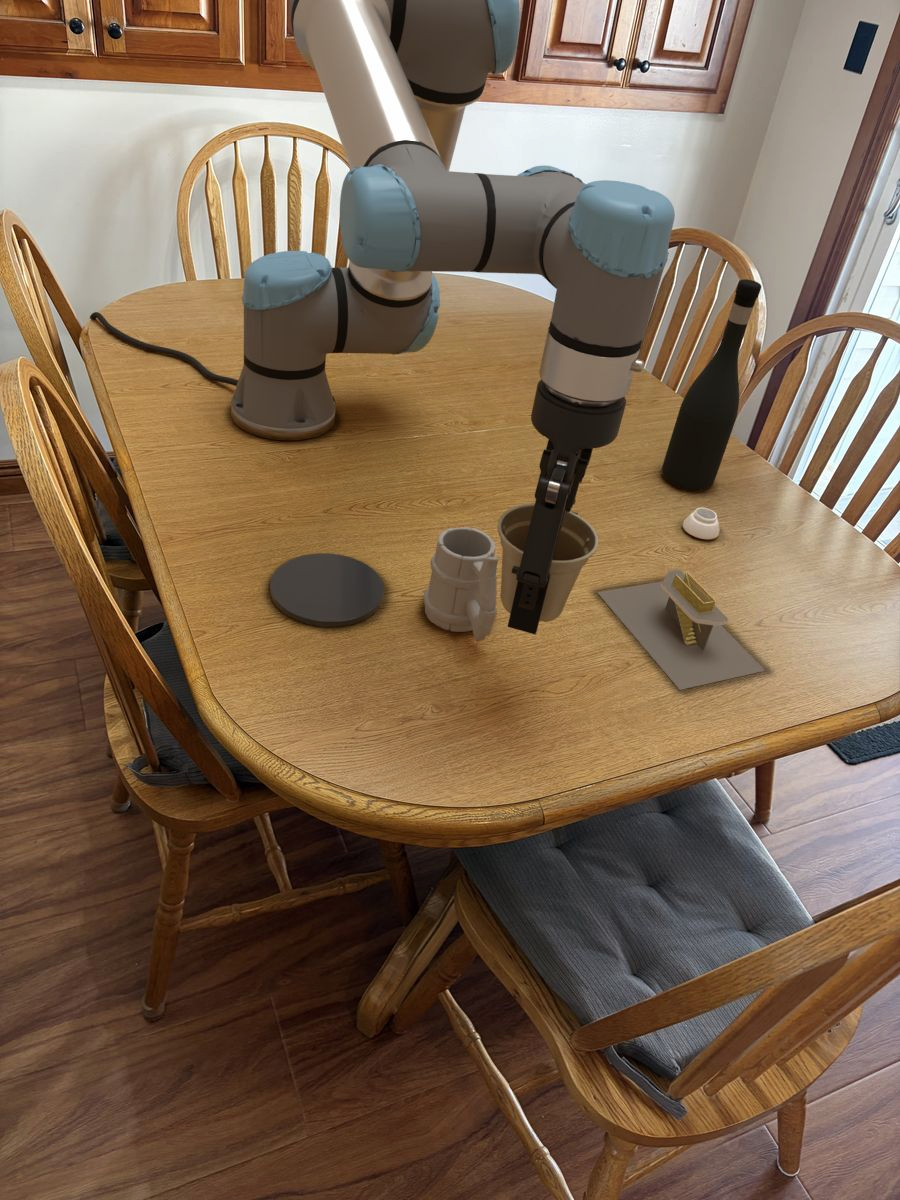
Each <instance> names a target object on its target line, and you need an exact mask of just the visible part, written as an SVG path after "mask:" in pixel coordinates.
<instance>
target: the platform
mask: <svg viewBox="0 0 900 1200" xmlns="http://www.w3.org/2000/svg"><path fill="white" fill-rule="evenodd" d="M596 593H597V594H598V595H599V597H600V598H601V599H602V600H603V601H604V603H605V604H606V605H607V606H608V607H609V609H611V611H612V612H613V613H614V614H615V616H616V617H617V618H618V619H619V620H620V622H621V623H622V624H623V625H624V626H625V628H627V630H628V631H629V632H630V633H631V634H632V636H633V637H634V638H635V639H636V641H638V643H639V644H640V645H641V646H642V647H643V649H644V650H645V651H646V652H647V654H649V656H650V657H651V658H652V659H653V660H654V661H655V662H656V664H657V665H658V666H659V668H660V669H661V670H662V671H663V672H664V673H665V674H666V676H667V677H668V678H669V679H670V680H671V682H672V683H673V684H674V685H675V686H676V687H677V689H678V690H679V691H681V690H686V689H691V688H696V687H699V686H704V685H709V684H712V683H716V682H721V681H725V680H730V679H735V678H739V677H744V676H748V675H752V674H753V675H754V674H758V673H762V672H765V671H766V670H765V669H764V668H763V667H762V666H761V664H760V663H759V662H757V660H755V658H754V657H753V656H752V655H751V654H750V653H749V651H747V650H746V649H745V648H744V647H743V646H742V644H741V643H739V641H737V640H736V638H734V637H733V635H731V634H730V632H729V631H728V630H727V629H726V628H725V627H724V626H725V625H726V624H727V623H728V621H729V620H728V617H727V616H726V615H725V614H724V613H723V612H722V611H721V609H720V608H718V606H717V605H715V604H716V602H717V600H716V599H715V598H714V597H713V596H712V595H711V594H710V593H709V592H708V591H707V590H706V589H705V588H704V587H703V585H701V584H700V583H699V582H698V581H697V580H696V579H695V578H694V576H692V575H691V574H690V573H689V572H688V571H685V573H684V572H683V571H682V570H680V569H674V570H673V569H672V570H669V571H668V572H667V574H666V575H665V577H664V579H662V581H656V582H650V583H644V584H643V583H642V584H638V585H632V586H625V587H620V588H614V589H609V590H602V591H596Z"/></svg>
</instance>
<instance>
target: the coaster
mask: <svg viewBox="0 0 900 1200" xmlns="http://www.w3.org/2000/svg"><path fill="white" fill-rule="evenodd" d="M269 593H270V594H269V595H270V598H271V600H272V603H273V604H274V605H275V607H276V608H277V609H278V610H279V611H280V612H282V613H283V614H284V615H286V616H287V617H289V618H290V619H292V620H295V621H297V622H299V623H303V624H305V625H309V626H310V625H311V626H313V627H321V628H322V627H323V628H339V627H347V626H351V625H355V624H358V623H360V622H363V621H365V620H367V619H369V618H370V617H372V616H373V615H375V613H376V612H378V610H379V609H380V608H381V606H382V603H383V601H384V598H385V597H384V596H385V585H384V582H383V580H382V578H381V576H380V575H379V574H378V573H377V571H376V570H375V569H373V568H372V567H371V566H369V565H368V564H367V563H365V562H362V561H361V560H359V559H356V558H354V557H351V556H347V555H343V554H337V553H324V552H323V553H322V552H320V553H319V552H318V553H309V554H304V555H300V556H297V557H294V558H292V559H289V560H287V561H286V562H284V563H282V564H281V565H280V566H278V568H276V570H275V571H274V572H273V574H272V576H271V578H270V583H269Z"/></svg>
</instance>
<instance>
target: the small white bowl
mask: <svg viewBox="0 0 900 1200" xmlns="http://www.w3.org/2000/svg"><path fill="white" fill-rule="evenodd" d="M681 525H682V528H683V530H684V531H685V532H686V533H688V534H689V535H691V536H693V537H695V538H697V539H702V540H714V539H716V538H718V537H719V535H720V531H721V529H720V524H719V520H718V514H717V513H716V512H715V511H714V510H712V509H710V508H707V507H698V508H696V509H694V511H692V512H691V513H690V514H689V515H688V516H687V517H685V518H684V519H683V522H682V524H681Z"/></svg>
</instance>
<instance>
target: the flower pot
mask: <svg viewBox="0 0 900 1200" xmlns="http://www.w3.org/2000/svg"><path fill="white" fill-rule="evenodd" d="M534 506H535V503H525V504H520V505H515V506H513V507H511V508H509V509H507V510H506V511H505V512H504V513H502V514H501V515H500V517H499V519H498V522H497V533H498V536H499V538H500V546H501V548H502V554H501V559H502V560H501V577H500V580H501V581H500V594H499V598H500V600H501V605H502V607H503V608H504V610H505V611H506V612H507V613H509V614H510V613H511V609H512V604H513V600H514V595H515V591H516V586H517V582H518V581H517V579H516V578H517V576H516V574H513V573H512V568H513V567H514V566H518V567H520V564H521V559H522V555H523V551H524V547H525V543H526V539H527V535H528V530H529V526H530V522H531V518H532V514H533V510H534ZM573 512H574V511H572V512H566V513H565V516H564V520H563V524H562V527H561V531H560V535H559V538H558V542H557V546H556V549H555V553H554V557H553V560H552V563H551V568H550V571H549V574H550V575H551V576H550V580H549V584H548V588H547V592H546V596H545V600H544V604H543V608H542V612H541V616H540V620H539V622H543V623H548V622H552V621H554V620H556V619H557V618H559V616H561V615H562V613H563V611H564V608H565V605H566V604H567V600H568V599H569V597H570V595H571V592H572V590H573V588H574V587H575V584H576V581H577V579H578V577H579V575H580V573H581V571H582V568H583V567H584V566H585V565H586V564H587V563H588V561H589V559H591V558H592V556H594V555H595V553H596V552H597V551H598V547H599V544H600V540H599V534H598V532H597V531H596V529H595V528H594V526H593V525H592V524H591V523H590V522H589V521H588V520H587V519H585V518H584V517H582V516H580V515H579V514H578V515H577V514H575V513H576V512H575V513H573Z"/></svg>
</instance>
